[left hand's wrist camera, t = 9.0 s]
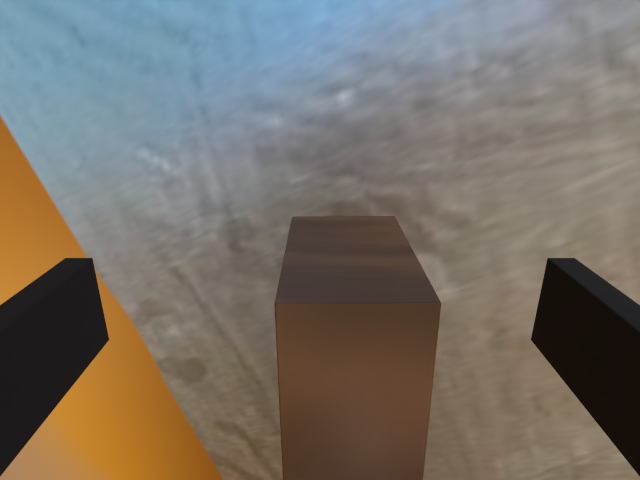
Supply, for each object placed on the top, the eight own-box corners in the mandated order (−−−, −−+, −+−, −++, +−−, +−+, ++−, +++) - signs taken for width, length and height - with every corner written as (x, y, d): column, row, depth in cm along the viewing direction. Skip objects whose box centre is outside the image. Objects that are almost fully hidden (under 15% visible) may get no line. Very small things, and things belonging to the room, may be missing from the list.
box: (292, 216, 26) (274, 303, 16) (394, 216, 26) (441, 302, 16) (301, 530, 36) (294, 708, 26) (376, 529, 36) (399, 708, 26)
